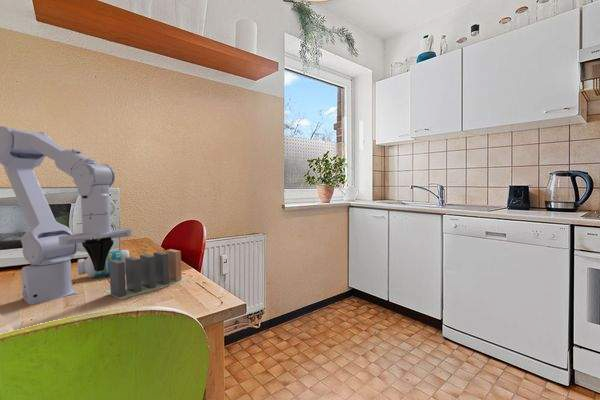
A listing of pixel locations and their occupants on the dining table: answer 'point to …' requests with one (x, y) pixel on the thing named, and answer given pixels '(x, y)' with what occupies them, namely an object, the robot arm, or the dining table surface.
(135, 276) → the domino
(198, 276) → the dining table surface
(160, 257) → the domino
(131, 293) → the mat
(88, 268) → the pill bottle
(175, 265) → the domino
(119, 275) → the domino
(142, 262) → the domino
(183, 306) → the dining table surface
